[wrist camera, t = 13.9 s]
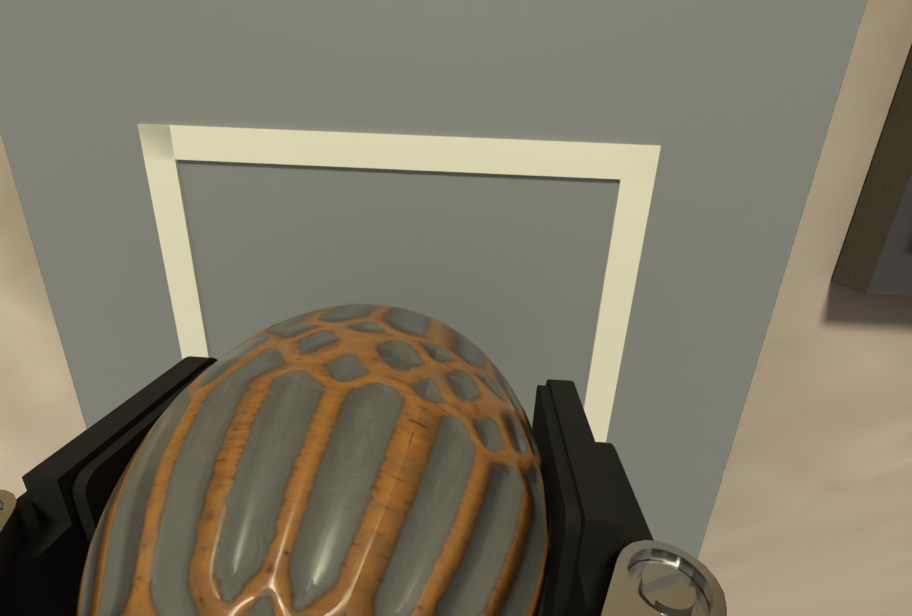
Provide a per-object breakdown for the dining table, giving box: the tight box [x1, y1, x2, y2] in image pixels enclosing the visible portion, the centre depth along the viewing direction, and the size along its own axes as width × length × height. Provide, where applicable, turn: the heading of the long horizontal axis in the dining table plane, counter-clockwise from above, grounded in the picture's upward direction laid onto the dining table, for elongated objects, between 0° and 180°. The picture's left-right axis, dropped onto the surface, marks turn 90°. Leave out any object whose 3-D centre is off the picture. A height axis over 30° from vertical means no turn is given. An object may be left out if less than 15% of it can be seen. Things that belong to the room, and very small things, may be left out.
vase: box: [76, 304, 550, 616], centre depth 7 cm, size 7×7×9 cm
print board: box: [0, 0, 867, 559], centre depth 14 cm, size 20×20×1 cm
